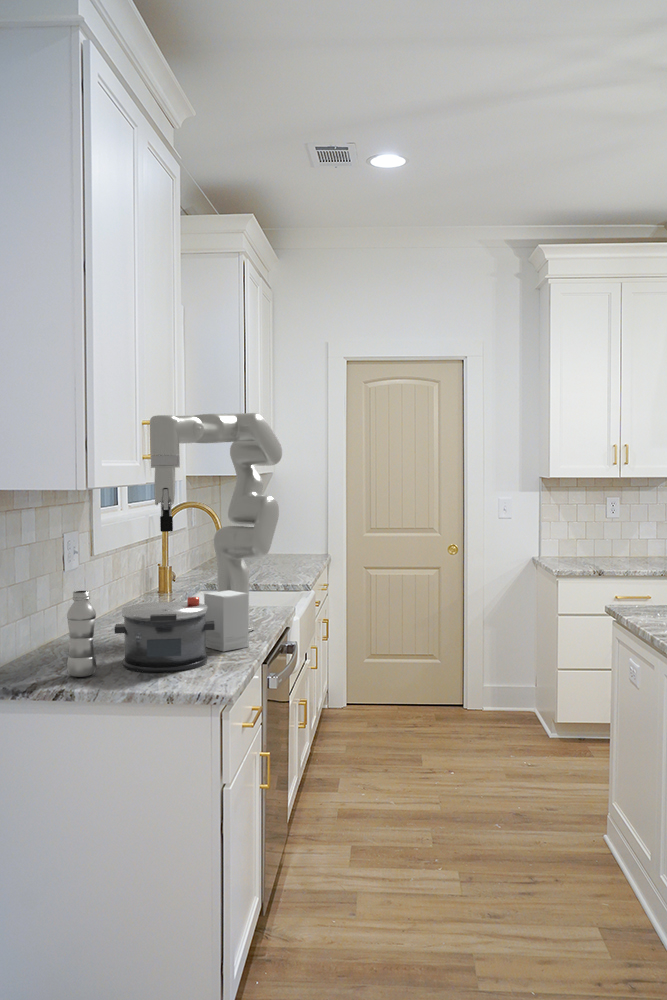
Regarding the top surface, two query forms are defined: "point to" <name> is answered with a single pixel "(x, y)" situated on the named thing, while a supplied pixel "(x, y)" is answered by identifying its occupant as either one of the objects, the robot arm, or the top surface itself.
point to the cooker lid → (165, 610)
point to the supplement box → (227, 620)
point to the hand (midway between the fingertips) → (166, 531)
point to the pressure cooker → (164, 644)
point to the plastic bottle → (81, 636)
